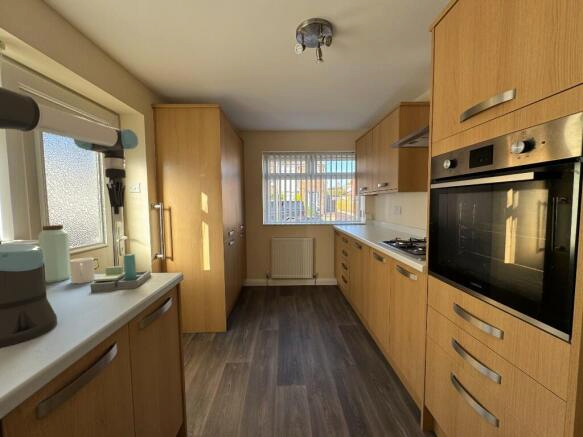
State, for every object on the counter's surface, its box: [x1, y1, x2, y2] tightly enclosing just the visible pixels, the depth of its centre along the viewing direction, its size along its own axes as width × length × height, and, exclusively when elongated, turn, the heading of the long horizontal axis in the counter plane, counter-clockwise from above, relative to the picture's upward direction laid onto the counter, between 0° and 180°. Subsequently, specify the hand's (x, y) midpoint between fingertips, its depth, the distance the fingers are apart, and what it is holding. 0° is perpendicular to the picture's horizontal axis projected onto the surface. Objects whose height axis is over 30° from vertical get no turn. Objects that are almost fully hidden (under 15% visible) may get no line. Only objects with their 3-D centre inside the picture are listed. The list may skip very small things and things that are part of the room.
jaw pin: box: [123, 253, 137, 281], centre depth 106 cm, size 4×4×12 cm
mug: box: [70, 256, 96, 284], centre depth 111 cm, size 8×12×10 cm
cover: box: [93, 265, 125, 283], centre depth 105 cm, size 9×8×4 cm
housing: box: [90, 270, 152, 293], centre depth 109 cm, size 18×16×3 cm
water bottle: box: [37, 224, 71, 284], centre depth 115 cm, size 10×10×25 cm
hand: (118, 221), depth 114 cm, fingers closed
